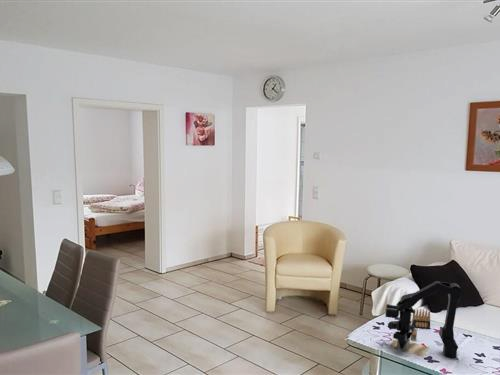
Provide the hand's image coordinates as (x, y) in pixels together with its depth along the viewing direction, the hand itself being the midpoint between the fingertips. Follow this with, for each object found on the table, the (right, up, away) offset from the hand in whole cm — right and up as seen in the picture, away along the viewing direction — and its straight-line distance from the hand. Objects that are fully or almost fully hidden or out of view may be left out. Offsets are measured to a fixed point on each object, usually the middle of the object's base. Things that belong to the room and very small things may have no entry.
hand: (403, 346), depth 224 cm
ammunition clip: (+22, 0, +31) cm, 38 cm away
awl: (+10, -1, +11) cm, 15 cm away
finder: (0, 0, 0) cm, 0 cm away
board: (+4, -2, +2) cm, 5 cm away
